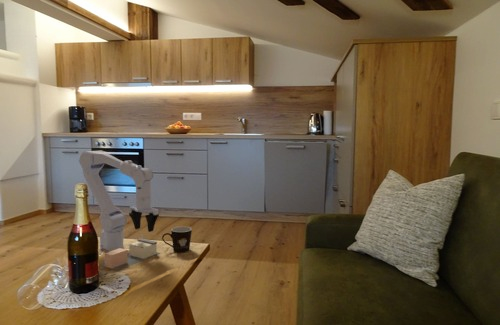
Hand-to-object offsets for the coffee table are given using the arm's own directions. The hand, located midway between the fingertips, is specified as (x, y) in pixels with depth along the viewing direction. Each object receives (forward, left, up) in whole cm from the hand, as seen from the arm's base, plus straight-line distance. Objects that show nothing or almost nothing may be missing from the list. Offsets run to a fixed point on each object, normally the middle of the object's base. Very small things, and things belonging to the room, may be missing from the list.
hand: (144, 230), depth 145 cm
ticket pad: (+2, -2, -9) cm, 10 cm away
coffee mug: (+10, +10, -11) cm, 17 cm away
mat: (+1, -8, -10) cm, 13 cm away
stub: (+2, -15, -9) cm, 18 cm away
